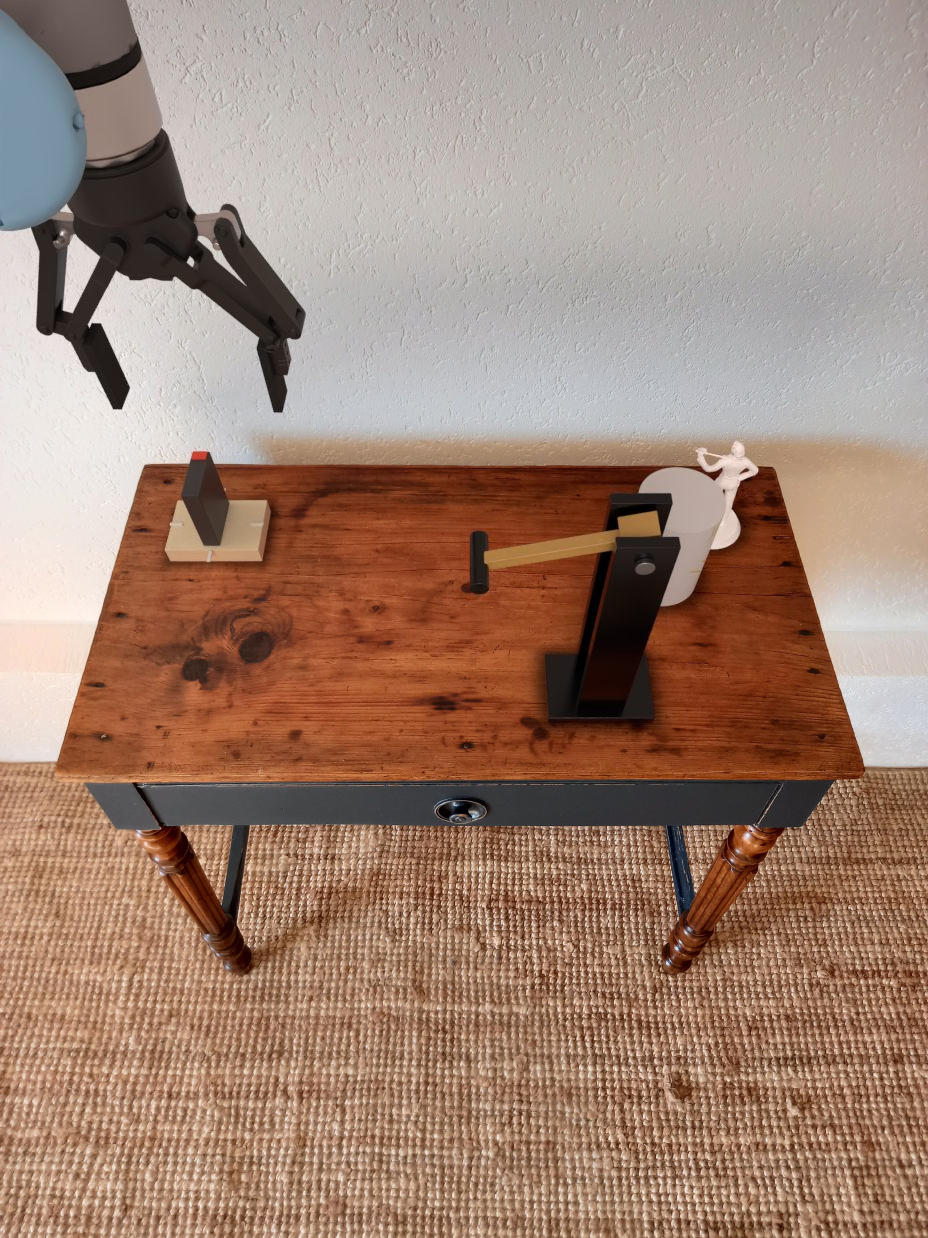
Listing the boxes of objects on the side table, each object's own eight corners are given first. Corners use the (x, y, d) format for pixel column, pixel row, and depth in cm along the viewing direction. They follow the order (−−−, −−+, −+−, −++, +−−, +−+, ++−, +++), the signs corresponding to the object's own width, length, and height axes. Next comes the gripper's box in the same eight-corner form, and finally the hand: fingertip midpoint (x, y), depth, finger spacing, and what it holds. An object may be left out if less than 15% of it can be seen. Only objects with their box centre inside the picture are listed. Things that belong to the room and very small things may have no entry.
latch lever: (474, 599, 60) (465, 581, 58) (474, 546, 63) (465, 528, 61) (665, 570, 57) (663, 550, 55) (656, 516, 60) (654, 495, 58)
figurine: (736, 501, 91) (769, 421, 81) (744, 550, 87) (779, 474, 77) (672, 498, 91) (697, 418, 81) (677, 547, 87) (704, 470, 77)
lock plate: (166, 573, 86) (159, 561, 84) (184, 501, 92) (179, 488, 90) (261, 573, 86) (256, 561, 84) (273, 500, 91) (269, 488, 90)
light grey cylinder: (701, 606, 83) (732, 533, 73) (622, 605, 83) (643, 532, 73) (690, 544, 87) (719, 467, 77) (616, 543, 88) (634, 466, 78)
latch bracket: (547, 723, 76) (577, 559, 54) (543, 659, 80) (570, 482, 58) (652, 723, 76) (724, 559, 54) (644, 659, 80) (708, 482, 58)
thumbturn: (220, 546, 85) (197, 494, 78) (203, 546, 85) (179, 493, 78) (229, 503, 89) (209, 449, 82) (213, 503, 89) (191, 449, 82)
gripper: (311, 110, 52) (352, 372, 70) (-67, 106, 52) (69, 367, 70) (294, 172, 48) (342, 434, 66) (-116, 167, 48) (41, 428, 66)
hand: (201, 400), depth 68 cm, fingers open, 13 cm apart
